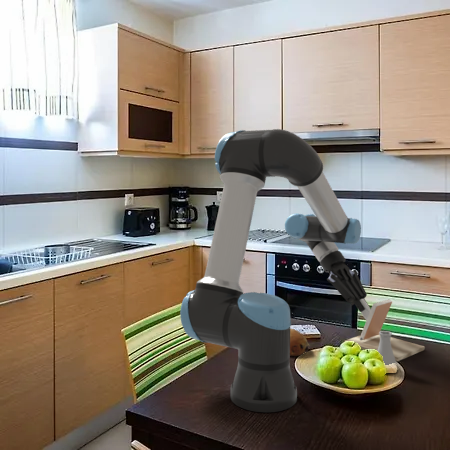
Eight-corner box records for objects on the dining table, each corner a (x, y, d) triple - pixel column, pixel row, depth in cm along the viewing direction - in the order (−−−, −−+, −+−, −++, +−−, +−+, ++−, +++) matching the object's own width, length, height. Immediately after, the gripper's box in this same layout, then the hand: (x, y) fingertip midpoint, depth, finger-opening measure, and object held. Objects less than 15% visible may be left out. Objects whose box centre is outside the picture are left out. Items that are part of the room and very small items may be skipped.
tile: (362, 341, 152) (376, 306, 148) (358, 338, 153) (372, 303, 149) (379, 335, 158) (393, 301, 153) (375, 333, 158) (389, 299, 154)
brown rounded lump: (294, 355, 155) (286, 329, 157) (318, 349, 148) (310, 322, 149) (271, 363, 149) (263, 336, 150) (295, 357, 141) (286, 328, 143)
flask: (395, 365, 138) (396, 328, 137) (401, 375, 131) (403, 337, 129) (367, 364, 138) (368, 327, 137) (372, 374, 131) (373, 336, 130)
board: (397, 361, 140) (397, 357, 140) (343, 344, 154) (343, 340, 154) (424, 349, 149) (424, 346, 149) (371, 334, 163) (371, 331, 163)
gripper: (335, 261, 172) (376, 321, 161) (309, 265, 163) (350, 330, 153) (348, 247, 167) (392, 309, 156) (323, 251, 159) (366, 316, 148)
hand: (371, 319), depth 155 cm, fingers closed
